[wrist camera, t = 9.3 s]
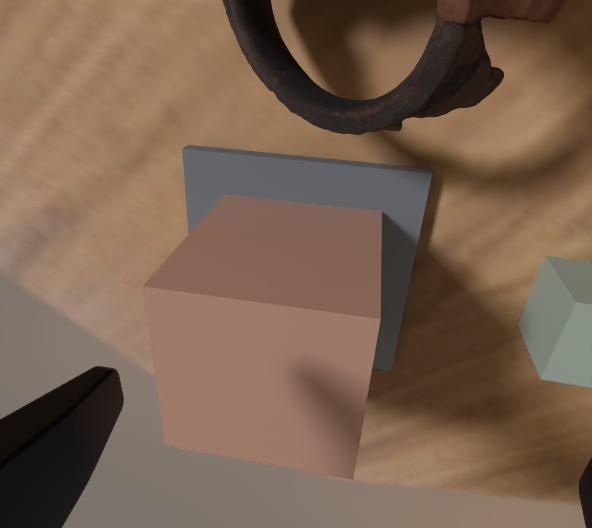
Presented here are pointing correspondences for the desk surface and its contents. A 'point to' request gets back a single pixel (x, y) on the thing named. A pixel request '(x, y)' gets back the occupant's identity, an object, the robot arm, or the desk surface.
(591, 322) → the sage block
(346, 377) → the dusty pink block
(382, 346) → the slate mat
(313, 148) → the desk surface
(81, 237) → the desk surface
